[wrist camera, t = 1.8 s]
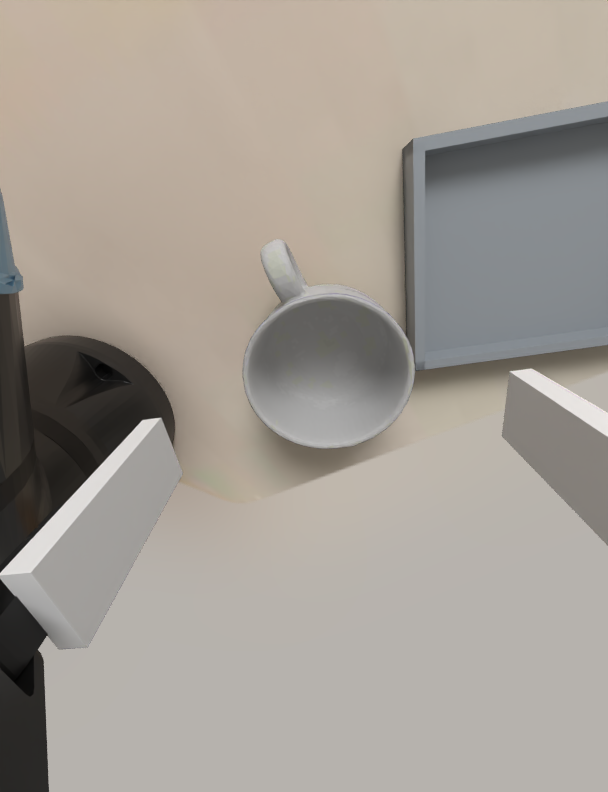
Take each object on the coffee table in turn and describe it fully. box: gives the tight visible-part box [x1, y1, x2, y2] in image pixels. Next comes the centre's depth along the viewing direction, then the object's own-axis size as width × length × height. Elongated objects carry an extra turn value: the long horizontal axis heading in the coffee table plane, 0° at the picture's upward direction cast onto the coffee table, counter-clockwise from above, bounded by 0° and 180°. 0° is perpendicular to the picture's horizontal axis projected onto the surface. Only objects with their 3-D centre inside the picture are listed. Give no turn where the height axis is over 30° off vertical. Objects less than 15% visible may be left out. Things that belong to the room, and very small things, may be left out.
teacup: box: [243, 239, 415, 449], centre depth 23 cm, size 14×11×8 cm
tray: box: [403, 101, 608, 371], centre depth 23 cm, size 18×15×2 cm
